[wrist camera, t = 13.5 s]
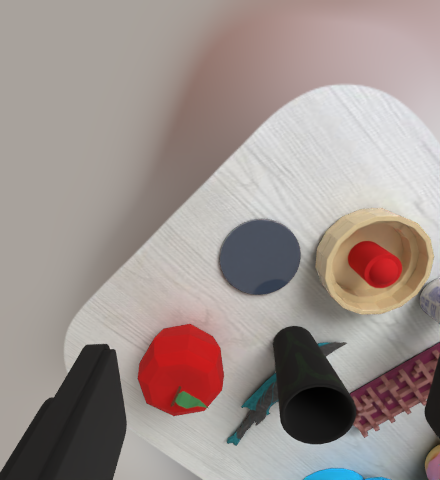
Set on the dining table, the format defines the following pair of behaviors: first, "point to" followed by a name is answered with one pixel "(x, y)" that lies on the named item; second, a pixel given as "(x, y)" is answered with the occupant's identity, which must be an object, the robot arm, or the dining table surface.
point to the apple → (181, 370)
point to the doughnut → (433, 464)
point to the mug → (338, 475)
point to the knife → (268, 398)
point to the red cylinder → (374, 264)
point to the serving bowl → (387, 236)
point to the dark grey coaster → (260, 256)
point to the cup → (310, 390)
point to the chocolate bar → (395, 391)
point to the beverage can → (431, 300)
